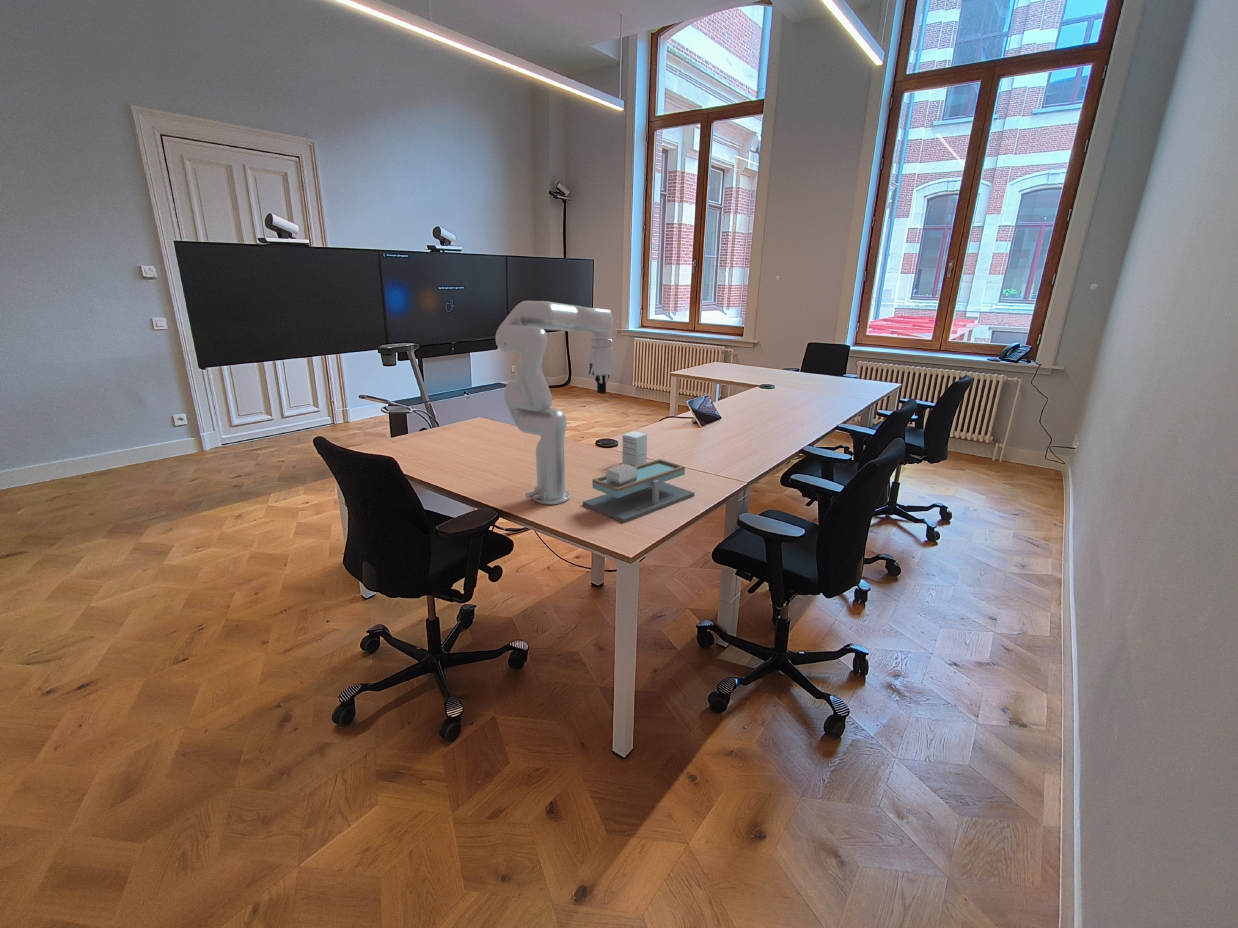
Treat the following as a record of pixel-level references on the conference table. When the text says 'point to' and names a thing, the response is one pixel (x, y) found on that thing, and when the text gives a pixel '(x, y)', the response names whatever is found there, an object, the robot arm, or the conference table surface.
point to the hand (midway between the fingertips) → (601, 393)
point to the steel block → (621, 475)
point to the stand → (638, 501)
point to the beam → (642, 478)
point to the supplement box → (634, 448)
